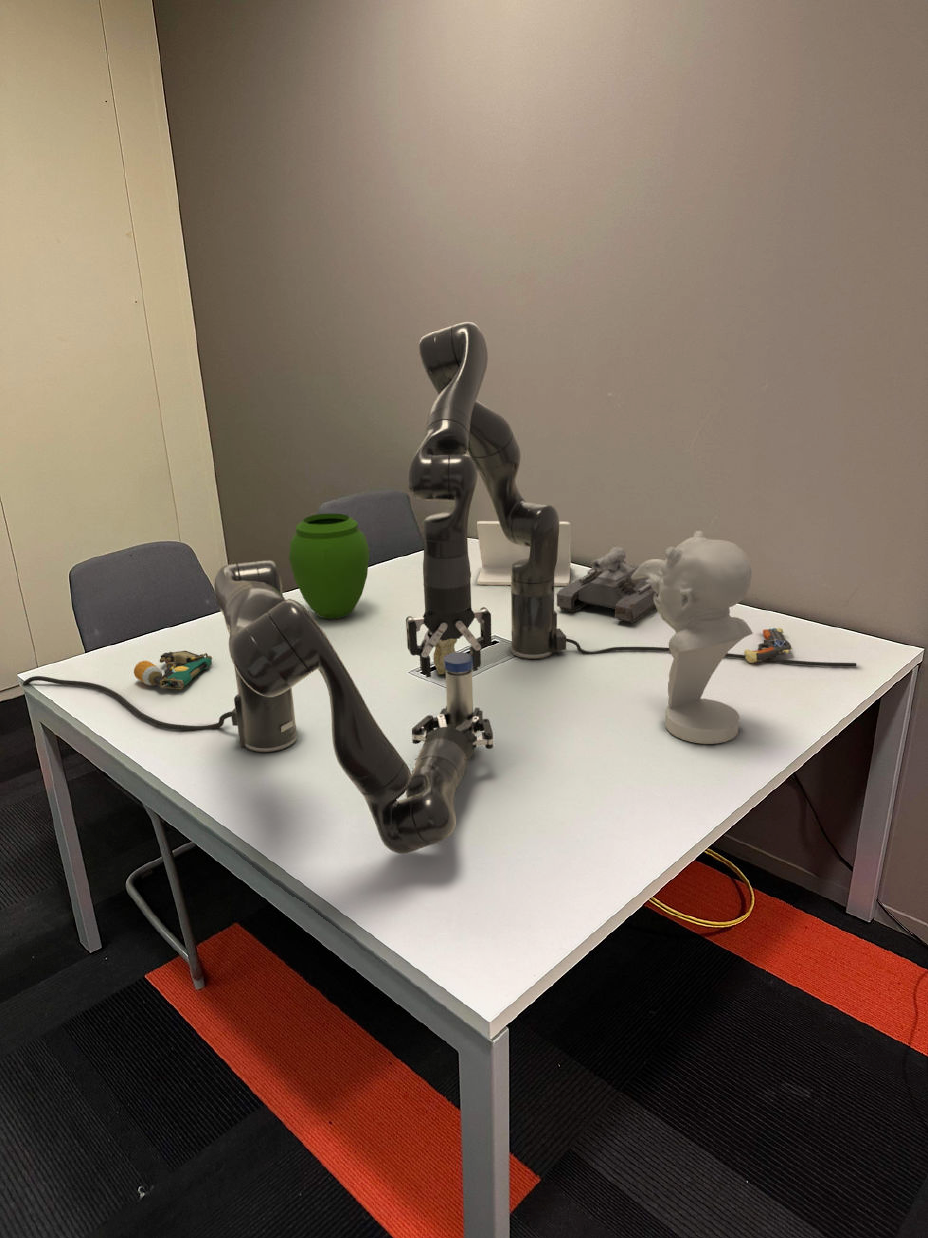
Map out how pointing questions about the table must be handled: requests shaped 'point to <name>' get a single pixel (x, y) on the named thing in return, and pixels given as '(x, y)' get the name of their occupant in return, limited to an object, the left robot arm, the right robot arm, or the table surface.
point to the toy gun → (769, 646)
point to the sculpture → (443, 653)
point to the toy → (610, 589)
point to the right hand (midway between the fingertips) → (450, 672)
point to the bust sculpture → (699, 629)
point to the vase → (329, 563)
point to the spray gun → (172, 669)
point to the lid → (458, 662)
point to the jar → (459, 697)
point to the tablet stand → (515, 554)
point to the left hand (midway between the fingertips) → (463, 711)
